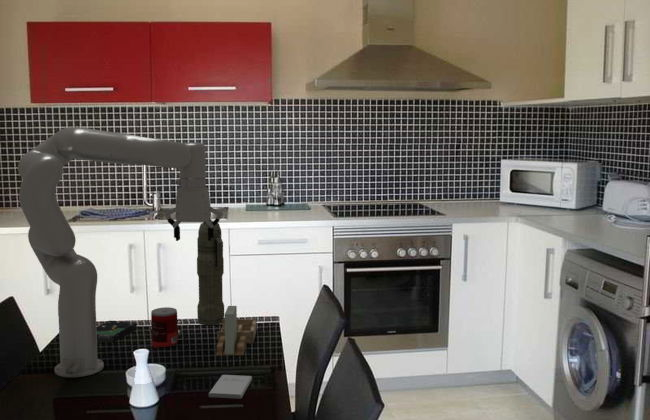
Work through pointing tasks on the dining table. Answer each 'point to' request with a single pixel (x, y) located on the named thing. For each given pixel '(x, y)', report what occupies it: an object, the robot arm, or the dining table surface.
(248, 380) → the external hard drive
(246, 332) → the rack
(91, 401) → the dining table surface
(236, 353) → the stand
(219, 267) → the thermos
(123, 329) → the disk drive
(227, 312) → the grey-green flat slab
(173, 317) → the canned food
